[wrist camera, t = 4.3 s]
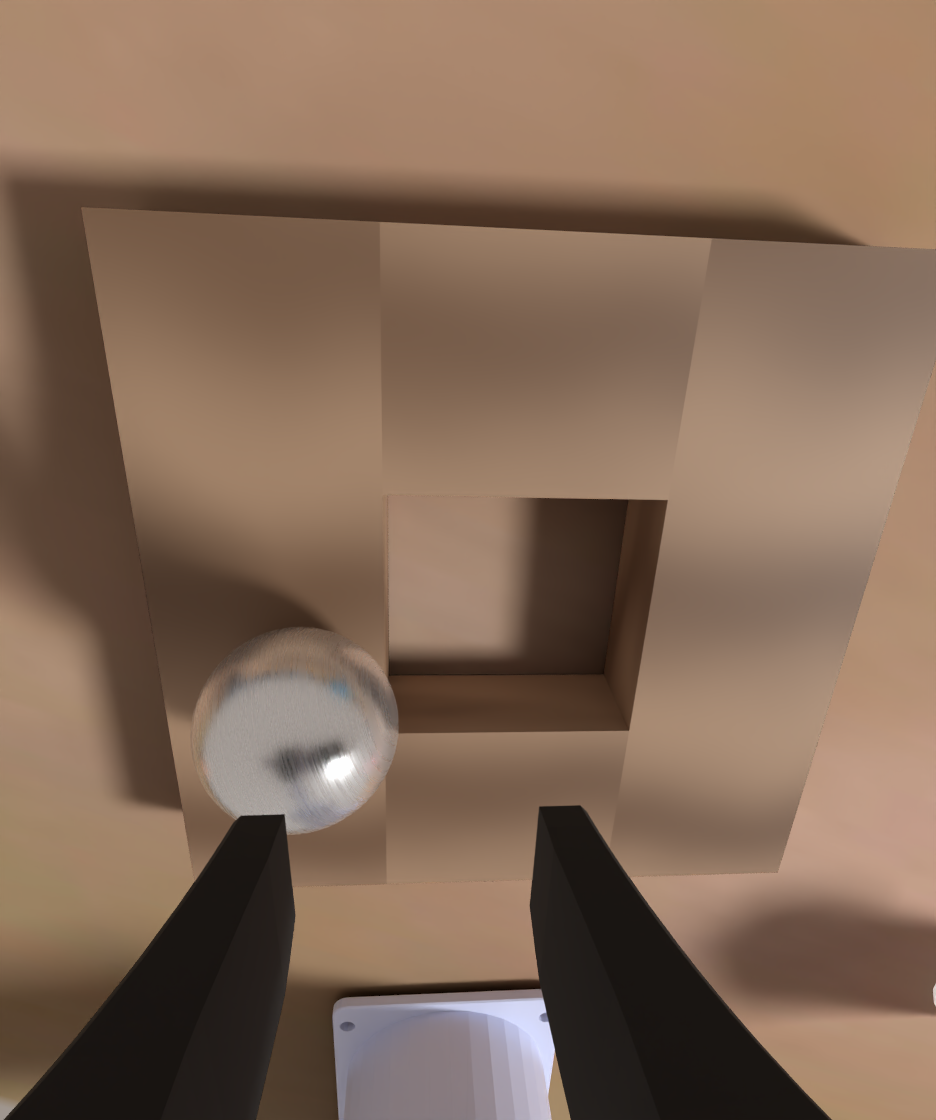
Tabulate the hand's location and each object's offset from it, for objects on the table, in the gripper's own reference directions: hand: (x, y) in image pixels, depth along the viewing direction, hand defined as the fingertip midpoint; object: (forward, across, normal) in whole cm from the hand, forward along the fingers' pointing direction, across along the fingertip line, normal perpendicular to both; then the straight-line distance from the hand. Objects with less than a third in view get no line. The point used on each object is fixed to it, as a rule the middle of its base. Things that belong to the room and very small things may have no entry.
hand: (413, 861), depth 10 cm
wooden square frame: (+8, -2, -1) cm, 9 cm away
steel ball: (+4, +2, +1) cm, 5 cm away
